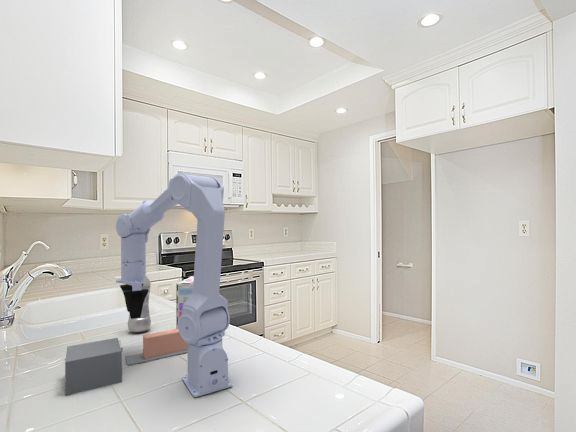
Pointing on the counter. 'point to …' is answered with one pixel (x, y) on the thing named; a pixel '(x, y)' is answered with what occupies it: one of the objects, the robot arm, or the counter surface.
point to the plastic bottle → (142, 314)
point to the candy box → (183, 295)
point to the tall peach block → (162, 343)
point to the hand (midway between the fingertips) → (133, 314)
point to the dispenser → (93, 365)
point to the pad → (140, 358)
